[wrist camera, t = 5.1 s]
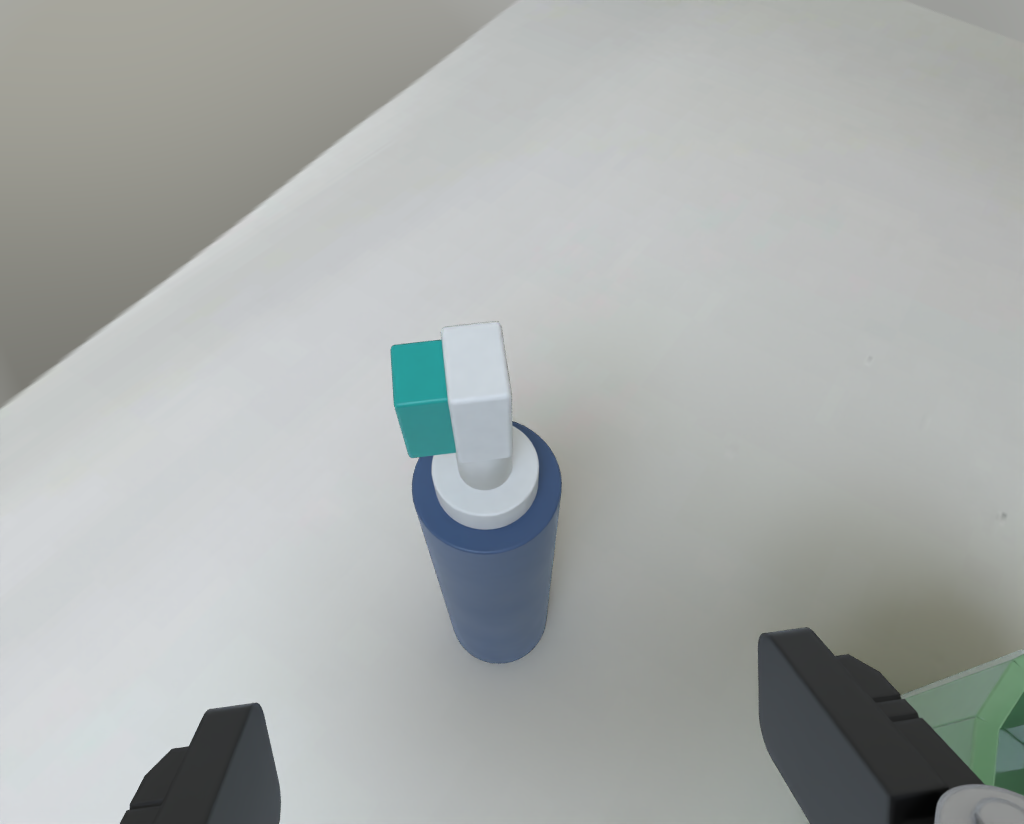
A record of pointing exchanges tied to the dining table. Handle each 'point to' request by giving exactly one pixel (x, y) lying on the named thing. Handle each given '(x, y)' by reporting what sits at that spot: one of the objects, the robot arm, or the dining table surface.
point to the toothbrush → (479, 488)
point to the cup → (981, 718)
